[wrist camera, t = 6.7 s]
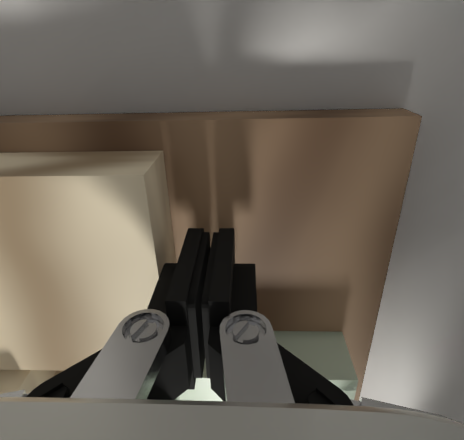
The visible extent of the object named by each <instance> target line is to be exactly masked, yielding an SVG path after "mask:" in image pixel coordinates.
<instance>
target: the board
mask: <svg viewBox="0 0 464 440" xmlns="http://www.w3.org/2000/svg"><path fill="white" fill-rule="evenodd" d="M421 118H422V116H420V115H418V114H415V113H413V112H410V111H408V110H406V109H403V108H400V109H344V110H289V111H234V112H178V113H123V114H68V115H12V116H0V153H19V152H95V151H163V154H164V163H165V171H166V180H167V188H168V197H169V205H170V214H171V222H172V231H173V239H174V248H175V256H176V263H177V262H178V258H179V255H180V252H181V249H182V246H183V243H184V240H185V236H186V233H187V230H188V228H204V232H209V233H210V247H211V243H212V237H213V232H219V228H234V232H235V263H241V264H255V268H256V293H257V312H258V313H260V314H262V315H264V316H265V317H266V318H267V319H268V320H269V321H270V323H271V325H272V328H273V331H326V332H342V333H343V336H344V339H345V342H346V345H347V348H348V351H349V354H350V357H351V360H352V363H353V366H354V369H355V372H356V375H357V378H358V384H357V389H356V394H355V398H354V400H356V401H359V396H360V392H361V387H362V383H363V379H364V374H365V370H366V365H367V361H368V356H369V352H370V347H371V343H372V338H373V334H374V329H375V325H376V320H377V316H378V311H379V307H380V302H381V298H382V293H383V289H384V284H385V280H386V275H387V271H388V266H389V262H390V257H391V253H392V248H393V244H394V239H395V235H396V230H397V226H398V221H399V217H400V212H401V208H402V203H403V199H404V194H405V190H406V185H407V181H408V177H409V172H410V168H411V163H412V159H413V154H414V150H415V145H416V141H417V136H418V132H419V127H420V123H421Z"/></svg>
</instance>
